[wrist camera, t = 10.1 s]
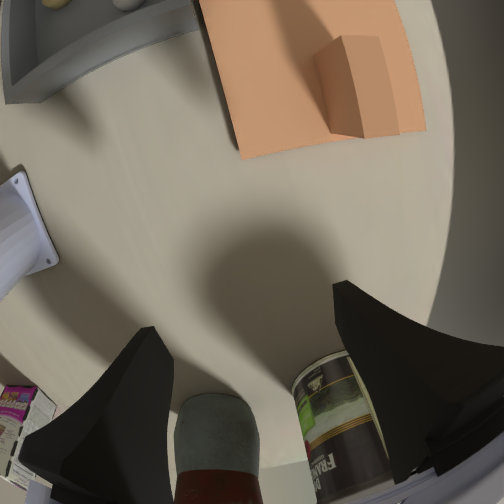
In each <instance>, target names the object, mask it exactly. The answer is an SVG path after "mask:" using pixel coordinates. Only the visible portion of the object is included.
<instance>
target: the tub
mask: <svg viewBox="0 0 504 504" xmlns="http://www.w3.org/2000/svg"><path fill="white" fill-rule="evenodd" d="M195 30H199V29H198V26H197V22H196V18H195V15H194V11H193V7H192V4H191V0H4V3H3V13H2V28H1V63H2V78H3V89H4V97H5V104H23V103H41V102H43V101H44V100H46V99H47V98H49V97H50V96H52V95H53V94H55V93H56V92H58V91H59V90H61V89H62V88H64V87H66V86H67V85H69V84H71V83H72V82H74V81H76V80H77V79H79V78H81V77H83V76H84V75H86V74H88V73H90V72H92V71H94V70H96V69H98V68H99V67H101V66H103V65H105V64H107V63H110V62H112V61H114V60H116V59H118V58H120V57H122V56H125V55H127V54H129V53H132V52H134V51H136V50H139V49H141V48H144V47H146V46H149V45H152V44H154V43H157V42H160V41H163V40H166V39H169V38H172V37H175V36H178V35H181V34H184V33H188V32H191V31H195Z"/></svg>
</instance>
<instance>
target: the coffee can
mask: <svg viewBox="0 0 504 504" xmlns="http://www.w3.org/2000/svg"><path fill="white" fill-rule="evenodd" d="M292 395H293V397H294V400H295V405H296V409H297V413H298V418H299V422H300V426H301V430H302V435H303V440H304V444H305V448H306V453H307V457H308V461H309V466H310V470H311V475H312V479H313V484H314V488H315V493H316V498H317V504H345V503H348V502H352V501H355V500H358V499H361V498H364V497H367V496H369V495H372V494H375V493H378V492H380V491H383V490H385V489H388V488H390V487H392V486H395V483H394V480H393V476H392V471H391V466H390V462H389V458H388V453H387V450H386V446H385V442H384V439H383V435H382V432H381V429H380V425H379V422H378V419H377V416H376V413H375V410H374V407H373V405H372V402H371V399H370V396H369V394H368V392H367V389H366V387H365V385H364V383H363V381H362V379H361V377H360V375H359V373H358V371H357V370H356V368H355V366H354V364H353V362H352V360H351V358H350V356H349V354H348V352H347V350H344V351H341V352H337V353H334V354H331V355H328V356H326V357H324V358H322V359H320V360H318V361H316V362H315V363H313V364H311V365H310V366H308V367H307V368H306V369H305V370H304V371H302V372H301V373H300V375H299V376H298V377H297V378H296V380H295V382H294V384H293V386H292Z"/></svg>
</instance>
